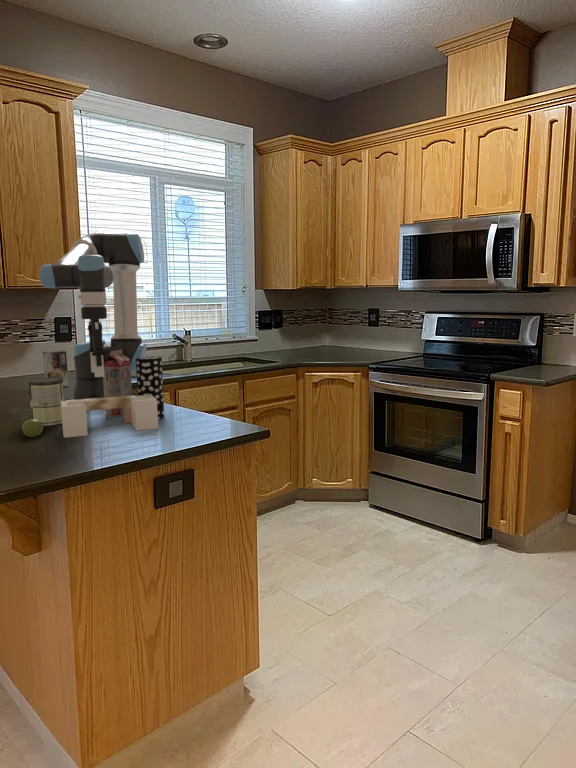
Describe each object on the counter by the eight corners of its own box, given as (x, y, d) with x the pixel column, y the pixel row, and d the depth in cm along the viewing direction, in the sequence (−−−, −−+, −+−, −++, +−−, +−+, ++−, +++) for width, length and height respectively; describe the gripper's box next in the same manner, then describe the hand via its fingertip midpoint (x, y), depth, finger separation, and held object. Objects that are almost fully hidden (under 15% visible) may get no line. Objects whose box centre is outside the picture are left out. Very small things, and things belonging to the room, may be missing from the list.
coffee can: (25, 423, 189) (21, 380, 187) (55, 417, 197) (52, 376, 194) (41, 427, 182) (38, 382, 180) (72, 421, 190) (69, 378, 188)
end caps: (63, 437, 169) (61, 407, 167) (62, 430, 177) (60, 401, 176) (158, 428, 179) (156, 399, 178) (152, 422, 188) (151, 394, 186)
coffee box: (66, 384, 270) (63, 349, 267) (69, 386, 264) (66, 351, 262) (45, 386, 265) (42, 351, 262) (47, 388, 260) (45, 352, 257)
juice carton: (133, 412, 204) (129, 349, 201) (122, 416, 198) (118, 351, 194) (116, 411, 206) (113, 349, 203) (105, 415, 200) (101, 351, 196)
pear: (20, 420, 167) (23, 419, 176) (21, 438, 167) (25, 436, 176) (41, 418, 169) (43, 417, 178) (42, 436, 168) (45, 435, 178)
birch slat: (66, 412, 180) (66, 402, 180) (66, 409, 184) (65, 400, 184) (133, 406, 188) (132, 397, 187) (131, 404, 192) (130, 395, 191)
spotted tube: (134, 417, 196) (130, 358, 193) (155, 413, 201) (152, 355, 198) (147, 421, 190) (144, 359, 187) (169, 417, 196) (166, 357, 192)
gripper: (78, 306, 191) (82, 370, 194) (83, 306, 168) (87, 379, 171) (102, 306, 194) (106, 369, 197) (110, 306, 171) (114, 378, 174)
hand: (97, 374), depth 184 cm, fingers open, 13 cm apart
